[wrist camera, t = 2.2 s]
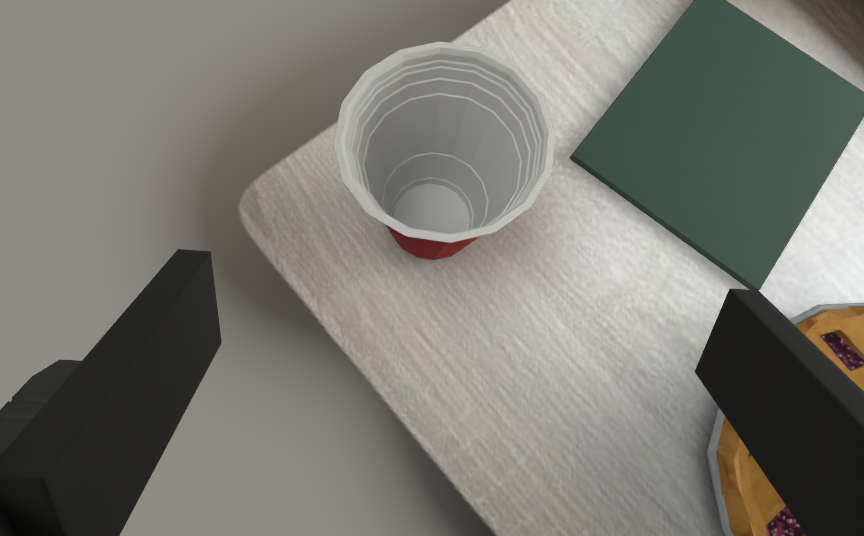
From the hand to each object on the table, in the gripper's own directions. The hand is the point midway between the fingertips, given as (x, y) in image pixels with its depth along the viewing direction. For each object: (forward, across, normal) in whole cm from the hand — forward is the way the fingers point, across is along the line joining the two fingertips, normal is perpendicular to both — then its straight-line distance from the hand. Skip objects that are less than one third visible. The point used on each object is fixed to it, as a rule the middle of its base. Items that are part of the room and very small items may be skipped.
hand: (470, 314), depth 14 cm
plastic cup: (+23, 0, -8) cm, 24 cm away
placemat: (+29, +22, -1) cm, 37 cm away
